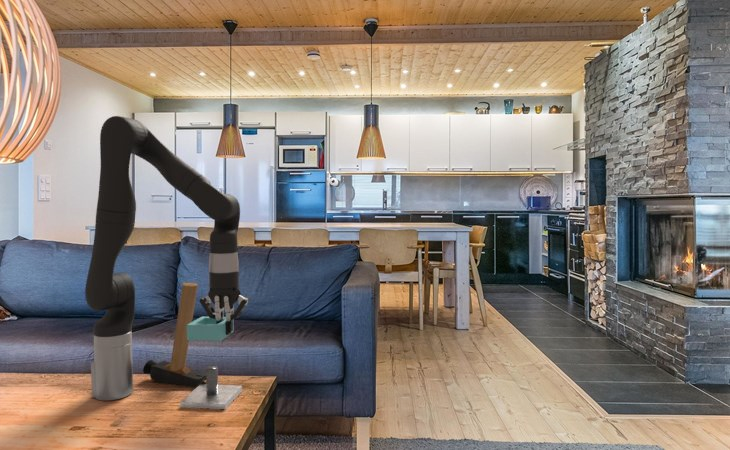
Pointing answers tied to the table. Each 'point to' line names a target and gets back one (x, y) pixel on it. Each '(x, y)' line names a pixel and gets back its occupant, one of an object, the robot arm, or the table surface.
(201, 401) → the stand
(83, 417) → the table surface
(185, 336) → the hammer
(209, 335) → the collar
